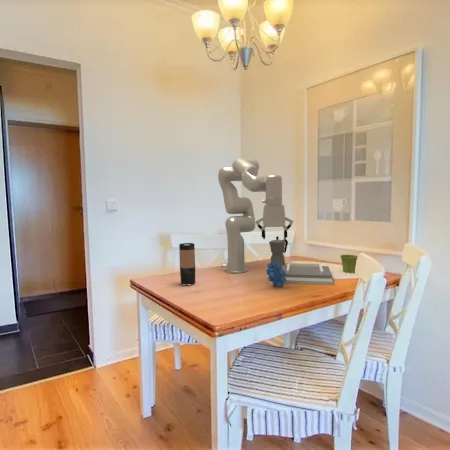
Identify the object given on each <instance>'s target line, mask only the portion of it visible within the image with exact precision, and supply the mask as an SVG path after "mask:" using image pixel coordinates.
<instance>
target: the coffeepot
mask: <svg viewBox="0 0 450 450" xmlns="http://www.w3.org/2000/svg"><path fill="white" fill-rule="evenodd" d="M268 244H269V246H270V252H271V256H270V262H269V263H271V262H272V261H275V262H276V263H277V264H280V265H286V261H285V255H284V253H286V252H287V248H288V245H289V241H288V239H287V238H286V239H284V238H283V239H279V236H276V237H275V239H273V240H270V241H269V242H268Z"/></svg>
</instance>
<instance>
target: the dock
mask: <svg viewBox="0 0 450 450" xmlns="http://www.w3.org/2000/svg"><path fill="white" fill-rule="evenodd" d="M281 266H282V269H281V270H284V271H285V273H286V275H285V276H284V277H285V278H286V282H285V283H284V284H294V285H295V284H299V285H325V286H327V285H329V286H330V285H331V286H333V285H334V281H333V275H332V272H331V270H330V267H329V265H322V263H312V262H311V263H309V262H288V263H287V265H286V264H285V265H281Z"/></svg>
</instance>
